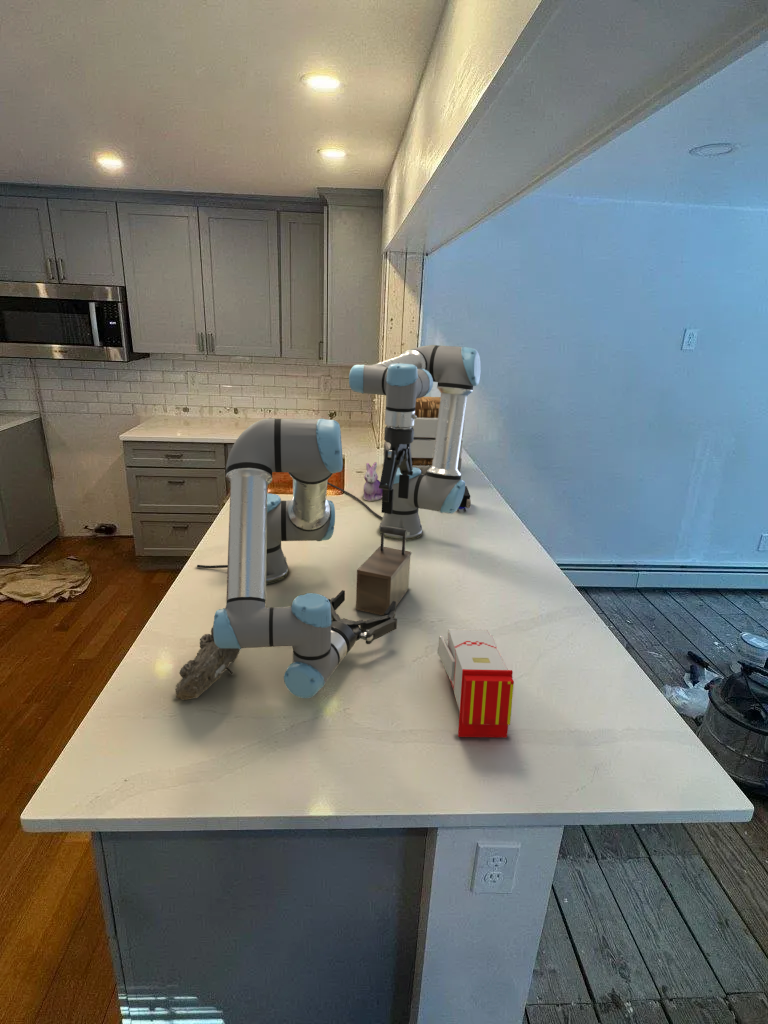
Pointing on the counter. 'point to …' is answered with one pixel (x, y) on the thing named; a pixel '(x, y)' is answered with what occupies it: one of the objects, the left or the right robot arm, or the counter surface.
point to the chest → (381, 590)
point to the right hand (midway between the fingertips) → (395, 505)
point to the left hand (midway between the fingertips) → (368, 600)
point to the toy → (478, 682)
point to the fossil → (204, 668)
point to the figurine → (372, 484)
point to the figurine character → (465, 500)
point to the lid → (386, 557)
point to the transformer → (425, 432)
